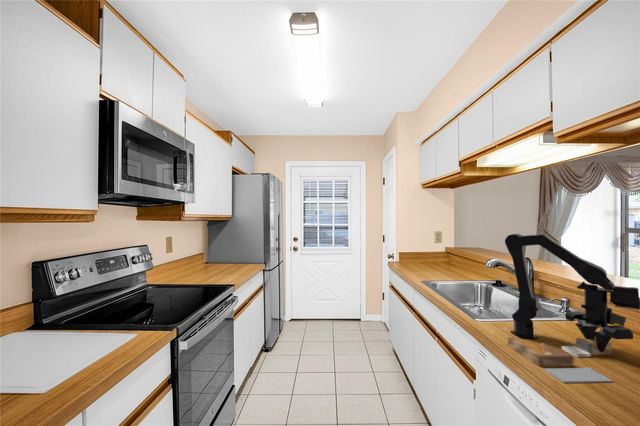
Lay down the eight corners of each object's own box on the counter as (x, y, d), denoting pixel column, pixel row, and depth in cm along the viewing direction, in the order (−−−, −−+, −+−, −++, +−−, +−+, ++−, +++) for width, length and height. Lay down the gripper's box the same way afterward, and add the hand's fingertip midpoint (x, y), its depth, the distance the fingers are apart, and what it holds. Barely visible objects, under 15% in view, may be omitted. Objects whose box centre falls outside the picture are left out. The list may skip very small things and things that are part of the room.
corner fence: (508, 345, 106) (507, 337, 106) (537, 345, 106) (536, 337, 106) (538, 366, 91) (538, 356, 91) (572, 365, 91) (572, 356, 91)
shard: (541, 345, 106) (541, 340, 106) (569, 351, 102) (569, 346, 102) (543, 357, 98) (543, 352, 98) (573, 364, 93) (573, 358, 93)
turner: (598, 348, 103) (598, 336, 103) (616, 356, 97) (615, 344, 97) (561, 349, 103) (561, 337, 103) (577, 357, 97) (576, 344, 97)
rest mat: (543, 369, 89) (543, 368, 89) (589, 369, 89) (589, 367, 89) (563, 382, 82) (563, 381, 82) (612, 381, 82) (612, 380, 82)
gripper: (650, 311, 91) (651, 362, 91) (593, 295, 110) (594, 337, 109) (614, 312, 91) (615, 363, 91) (563, 296, 109) (564, 338, 109)
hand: (596, 349), depth 100 cm, fingers closed on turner, 3 cm apart
